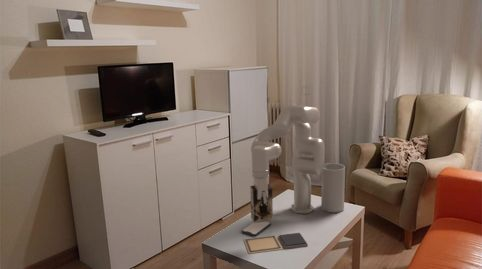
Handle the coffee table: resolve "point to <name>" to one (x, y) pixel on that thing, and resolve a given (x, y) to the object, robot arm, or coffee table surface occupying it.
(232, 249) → the coffee table surface
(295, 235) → the pad
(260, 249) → the marked card
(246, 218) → the coffee table surface
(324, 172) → the cylinder vase
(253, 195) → the coffee box
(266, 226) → the phone case
